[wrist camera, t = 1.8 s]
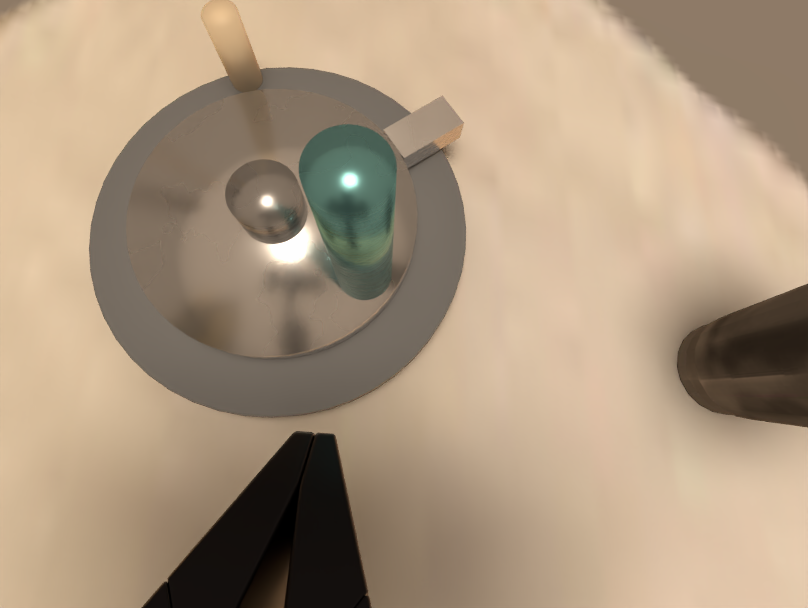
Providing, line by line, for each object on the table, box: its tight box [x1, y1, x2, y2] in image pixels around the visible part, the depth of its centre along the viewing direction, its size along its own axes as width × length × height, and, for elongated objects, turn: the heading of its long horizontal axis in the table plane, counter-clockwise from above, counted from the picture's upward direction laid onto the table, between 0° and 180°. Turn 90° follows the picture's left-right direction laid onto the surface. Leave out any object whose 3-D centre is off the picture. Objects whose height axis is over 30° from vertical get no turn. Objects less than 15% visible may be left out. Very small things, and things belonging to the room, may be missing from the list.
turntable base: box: [89, 0, 466, 417], centre depth 20 cm, size 18×18×6 cm
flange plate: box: [126, 89, 464, 360], centre depth 16 cm, size 15×14×10 cm
